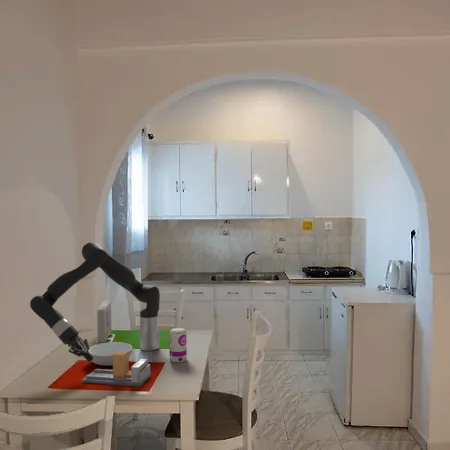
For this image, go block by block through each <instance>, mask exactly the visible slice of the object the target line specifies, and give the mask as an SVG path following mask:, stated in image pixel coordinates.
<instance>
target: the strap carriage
mask: <svg viewBox="0 0 450 450" xmlns="http://www.w3.org/2000/svg"><path fill="white" fill-rule="evenodd" d="M112 370H113V377H123V378H131V370H130V357H129V351H117V352H115V353H114V354H113V365H112Z"/></svg>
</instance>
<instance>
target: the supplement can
mask: <svg viewBox="0 0 450 450" xmlns="http://www.w3.org/2000/svg"><path fill="white" fill-rule="evenodd" d="M168 336H169V342H168V343H169V361H170V362H171V361H172V362H171V363H174V362H181V363H184V362H186V360H187V358H188V353H187V352H188V351H187V350H188V347H187V346H188V345H187V344H188V343H187V340H188V337H187V330H186V328H184V327H173V328H171V329H170V331H169V335H168ZM183 361H184V362H183Z"/></svg>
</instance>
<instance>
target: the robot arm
mask: <svg viewBox="0 0 450 450" xmlns="http://www.w3.org/2000/svg"><path fill="white" fill-rule="evenodd" d="M81 256H82V258H83V259H84V261H83V262H82V263H81V264H80V265H79V266H77V267H75V268H74V269H72V270H70V271H67V272H65V273H63V274H61V275H60V276H58V278H56V279H55V280H53V282H52V283H50V284H49V285H48V286H47V288H46V291H45V292H43V294H42V295H35V296H34V297H32V299H30V302H29V307H30V309H31V310H32V311H33V312H34V313H35V315H37V316H38V317H39V318H40V319H42V321H44V322H45V323H46V325H47V327H49V328H50V329H51V330H52V332H53V334H54V335H55V336H56V337H57V338H58V339H59V340H60V341H61V342H62V343H63V345H64V346H68V347H69V349H68V353H71V354H73V355H75V356H77V357H83V358H84V359H86V361H87V362H88V363H90V362H92V360H93V356H92V355H91V354H90V353H89V352H88V351H89V349H90V346H89V342H88V339H87V338H84V339H82V338H81V337H80V336H79V334H80V333H79V331H78V330H77V328H75V326H73V324H72V323H71V322H70V321H69V320H68V319H66V318H65V317H64V315H62V313H61V312H60V311H59V310H57V309H55V308H54V307H53V306H54V305H55V304H56V302H57V301H58V300H59V299H60V298H61V297H62V296H63V295H64V294H65V293H67V291H68V290H70V289H71V288H72V287H73V286H75V284H77V283H79V281H81V280H83V279H84V278H85V277H86V276H88V275H90V274H91V273H92V272H94V271H96V270H97V269H99V268H100V269H101V270H102V271H103V272H104V273H105V275H107V276H108V277H109V278H110V280H112V281H113V282H114V283H116V284H117V285H119V286H120V287H122V288H123V289H124V290H126V291H128V292H129V293H130V294H131V295H133V297H135V298H136V299H137V300H138V301H139V302H140V303H145V306H146V307H145V308H144V309H141V310H140V312H139V321H140V324H139V327H140V328H139V329H140V332H139V333H140V334H139V335H140V345H139V346H140V350H142V351H145V352H147V351H148V352H150V351H155V350H157V349H160V330H159V310H160V301H161V300H160V298H161V297H160V295H161V294H160V288H158V287H157V286H156V285H149V284H144V283H142V282H141V281H139V280H137V279H136V276H135V272H134V271H132V269H130V268H129V267H128V266H127V265H125V264H123V263H122V262H121V261H119V260H117V259H116V258H115V257H113V256H111V255H109V253H107V251H106V250H105V249H104V248H103V247H102V246H101V245H100V244H99V243H96V242H87V243H85V244H84V245H83V246H82V248H81Z"/></svg>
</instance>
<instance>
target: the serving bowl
mask: <svg viewBox="0 0 450 450" xmlns="http://www.w3.org/2000/svg"><path fill="white" fill-rule="evenodd" d="M109 342H110V341H109ZM109 342H101V343H102V344H98V345H97V344H94V345H92V346H89V348H90V349H89V351H88V352H89V353H90V354H91V355H92V356H93V360H92V361H91V362H92V363H94V364H96V365H99V366H106V367H107V366H110V367H111V366H113V354H114V353H115V352H117V351H129V358H130V357H131V355H132V354H133V353H132V352H133V345H131V344H130V343H127V342H120V341H118V342H117V341H112V342H110V343H109Z"/></svg>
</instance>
